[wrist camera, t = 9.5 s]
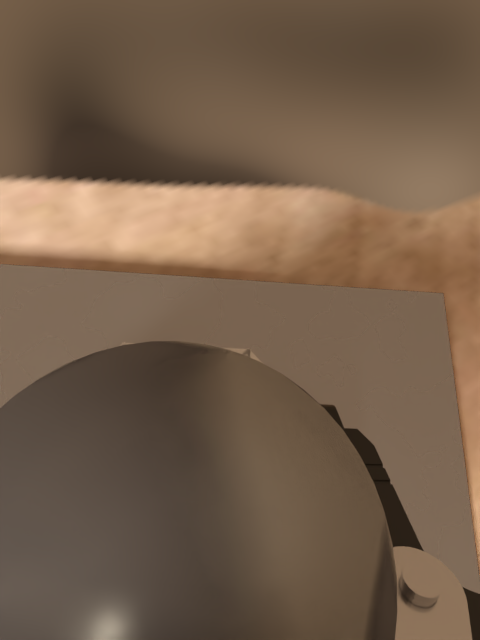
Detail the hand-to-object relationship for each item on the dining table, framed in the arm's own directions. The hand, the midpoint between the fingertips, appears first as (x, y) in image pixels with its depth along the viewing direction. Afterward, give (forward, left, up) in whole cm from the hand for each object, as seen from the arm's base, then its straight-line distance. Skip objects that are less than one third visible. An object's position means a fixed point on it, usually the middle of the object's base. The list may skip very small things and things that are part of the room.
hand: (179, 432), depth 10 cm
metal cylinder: (0, -2, -5) cm, 5 cm away
